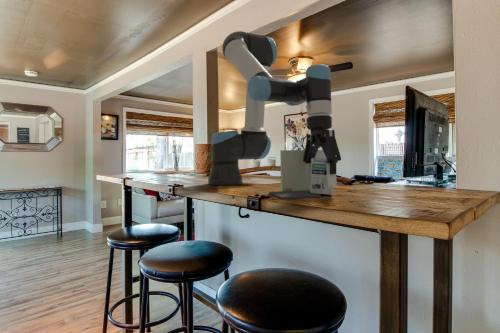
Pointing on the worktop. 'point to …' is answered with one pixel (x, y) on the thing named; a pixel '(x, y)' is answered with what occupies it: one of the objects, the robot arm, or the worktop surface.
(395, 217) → the worktop surface
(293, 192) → the mat
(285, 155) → the screen
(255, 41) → the robot arm
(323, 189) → the light bulb box
